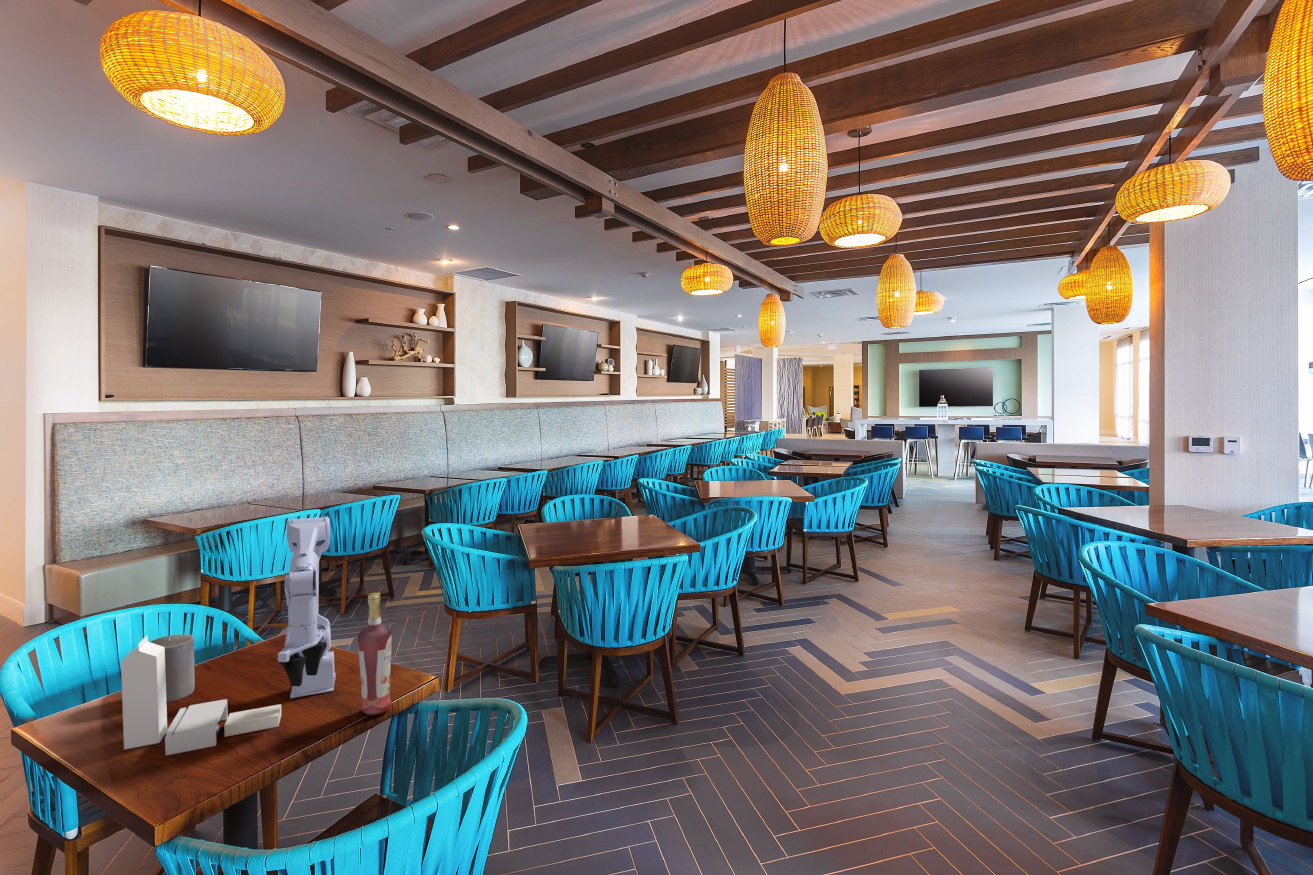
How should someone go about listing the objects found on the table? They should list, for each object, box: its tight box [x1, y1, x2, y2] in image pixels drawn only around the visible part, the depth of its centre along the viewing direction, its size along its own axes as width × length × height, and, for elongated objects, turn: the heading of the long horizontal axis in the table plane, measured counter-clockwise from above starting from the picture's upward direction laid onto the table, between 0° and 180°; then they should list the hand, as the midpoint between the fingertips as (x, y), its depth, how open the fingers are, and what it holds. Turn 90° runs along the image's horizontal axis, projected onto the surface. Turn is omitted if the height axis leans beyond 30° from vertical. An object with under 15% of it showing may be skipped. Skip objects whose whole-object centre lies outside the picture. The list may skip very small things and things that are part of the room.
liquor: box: [357, 592, 393, 717], centre depth 143 cm, size 7×7×28 cm
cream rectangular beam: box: [224, 703, 282, 738], centre depth 137 cm, size 10×6×2 cm, turn 116°
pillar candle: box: [149, 634, 196, 703], centre depth 152 cm, size 10×10×15 cm
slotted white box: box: [164, 698, 229, 756], centre depth 133 cm, size 8×13×4 cm, turn 26°
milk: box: [120, 635, 168, 750], centre depth 131 cm, size 6×6×22 cm
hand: (304, 680), depth 142 cm, fingers open, 5 cm apart
